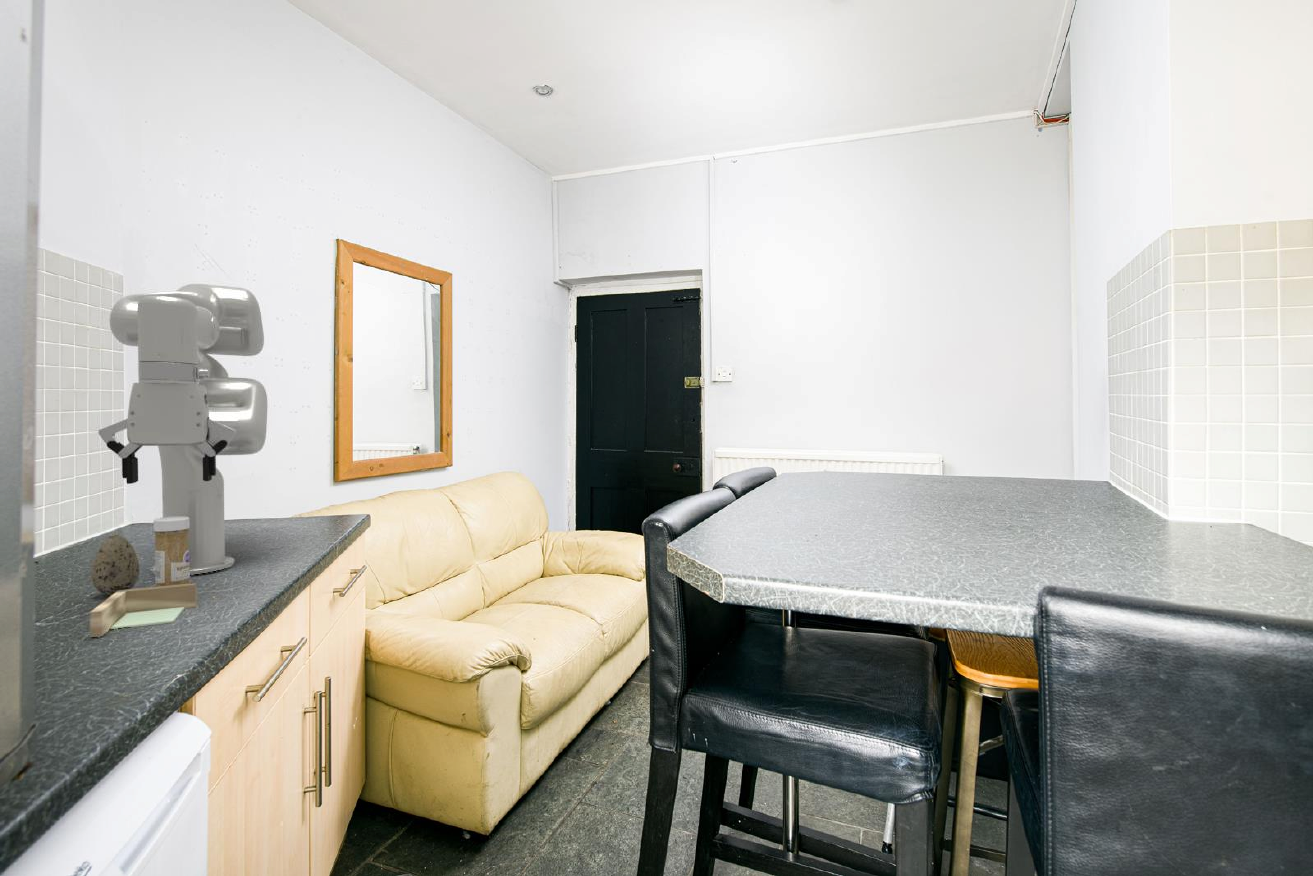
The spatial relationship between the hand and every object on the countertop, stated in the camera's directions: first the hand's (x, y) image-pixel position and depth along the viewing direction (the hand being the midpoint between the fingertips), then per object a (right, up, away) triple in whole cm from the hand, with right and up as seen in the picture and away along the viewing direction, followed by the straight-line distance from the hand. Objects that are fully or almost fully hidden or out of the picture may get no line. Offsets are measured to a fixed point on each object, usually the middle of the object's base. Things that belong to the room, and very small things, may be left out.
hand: (170, 481), depth 98 cm
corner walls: (+4, -20, -9) cm, 22 cm away
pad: (+4, -20, -9) cm, 22 cm away
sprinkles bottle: (0, -20, +1) cm, 20 cm away
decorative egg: (-12, -19, +3) cm, 23 cm away
